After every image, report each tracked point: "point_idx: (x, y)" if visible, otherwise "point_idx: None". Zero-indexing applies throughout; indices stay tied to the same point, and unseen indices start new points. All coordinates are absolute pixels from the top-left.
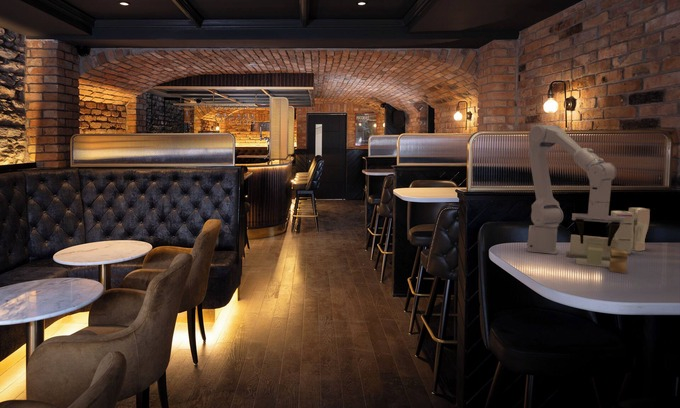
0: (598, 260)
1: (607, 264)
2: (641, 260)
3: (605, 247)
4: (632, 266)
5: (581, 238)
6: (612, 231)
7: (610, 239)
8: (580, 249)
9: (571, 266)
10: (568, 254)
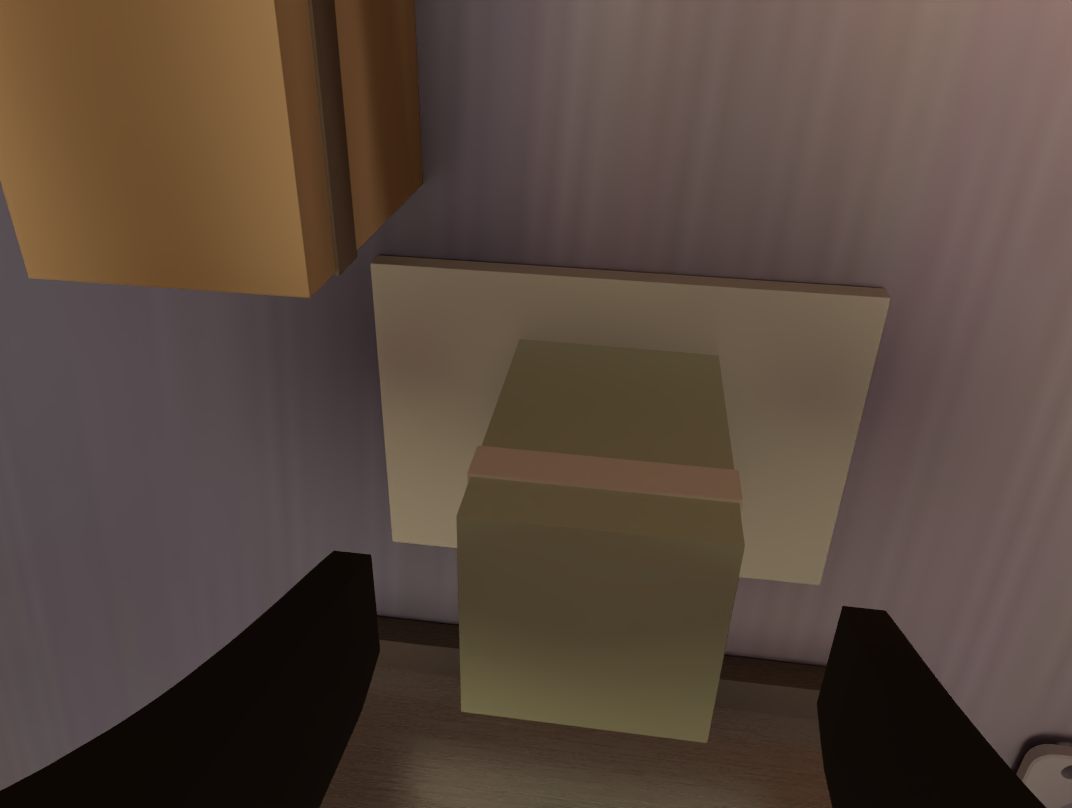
0: (557, 364)
1: (438, 352)
2: None
3: (426, 793)
4: (160, 453)
5: (923, 679)
6: (130, 782)
7: (277, 635)
8: (751, 778)
9: (1036, 55)
10: None
